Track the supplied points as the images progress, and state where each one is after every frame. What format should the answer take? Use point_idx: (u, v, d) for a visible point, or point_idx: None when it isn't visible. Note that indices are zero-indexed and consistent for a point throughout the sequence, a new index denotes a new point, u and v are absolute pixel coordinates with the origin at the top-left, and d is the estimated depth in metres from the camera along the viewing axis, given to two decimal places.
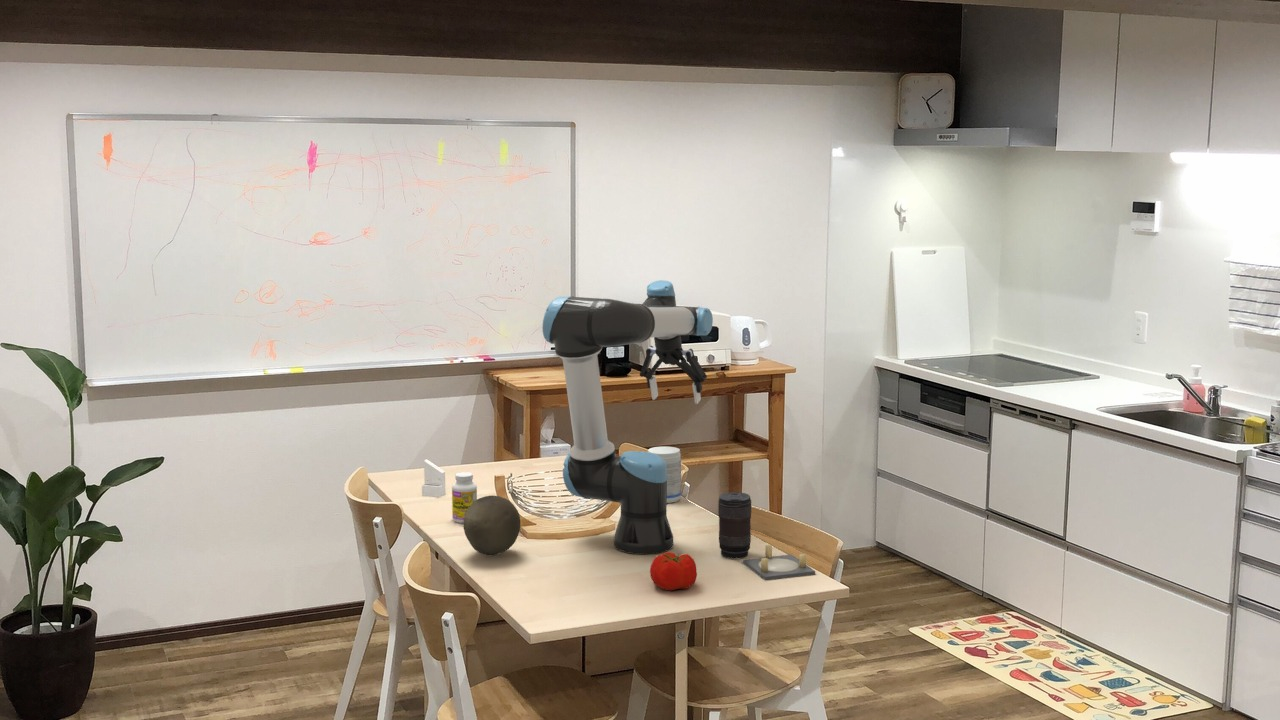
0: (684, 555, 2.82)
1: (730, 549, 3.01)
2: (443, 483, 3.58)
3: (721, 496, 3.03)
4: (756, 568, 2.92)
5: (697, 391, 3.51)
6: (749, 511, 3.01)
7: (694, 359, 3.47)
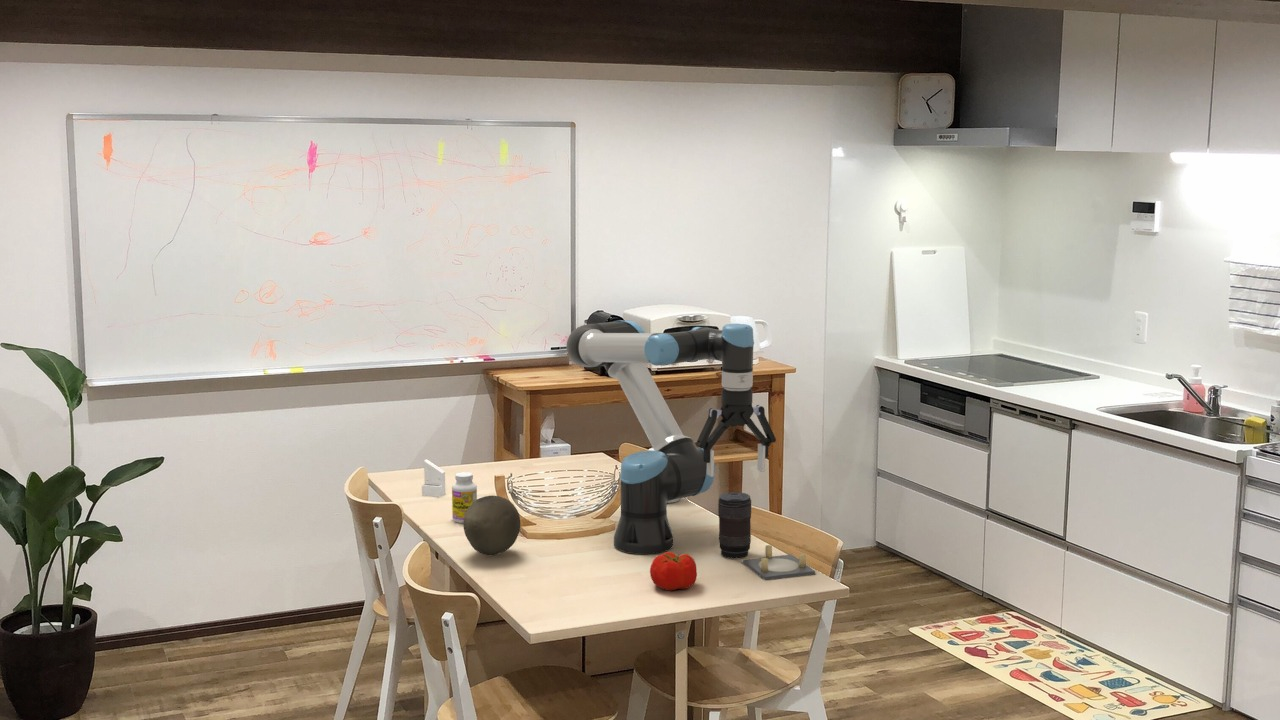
0: (684, 555, 2.82)
1: (730, 549, 3.01)
2: (443, 483, 3.58)
3: (721, 496, 3.03)
4: (756, 568, 2.92)
5: None
6: (749, 511, 3.01)
7: (709, 421, 2.97)
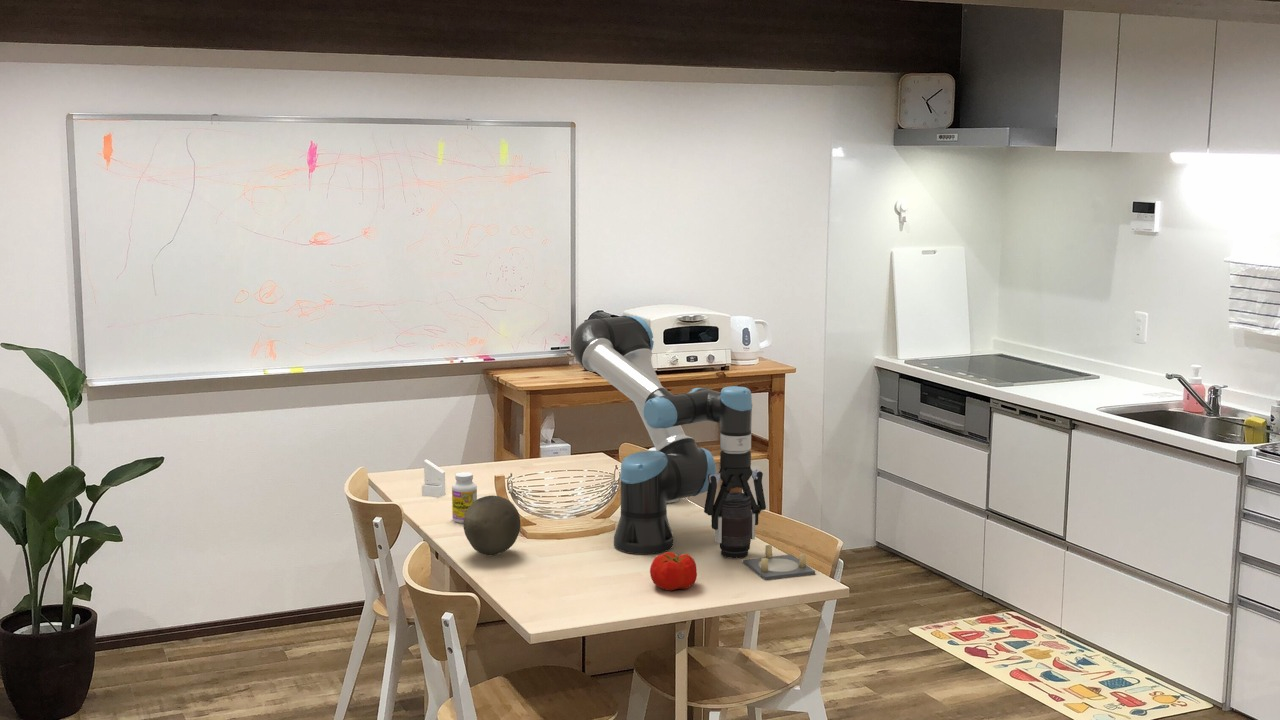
0: (684, 555, 2.82)
1: (730, 549, 3.01)
2: (443, 483, 3.58)
3: None
4: (756, 568, 2.92)
5: None
6: (749, 511, 3.01)
7: (710, 487, 3.00)
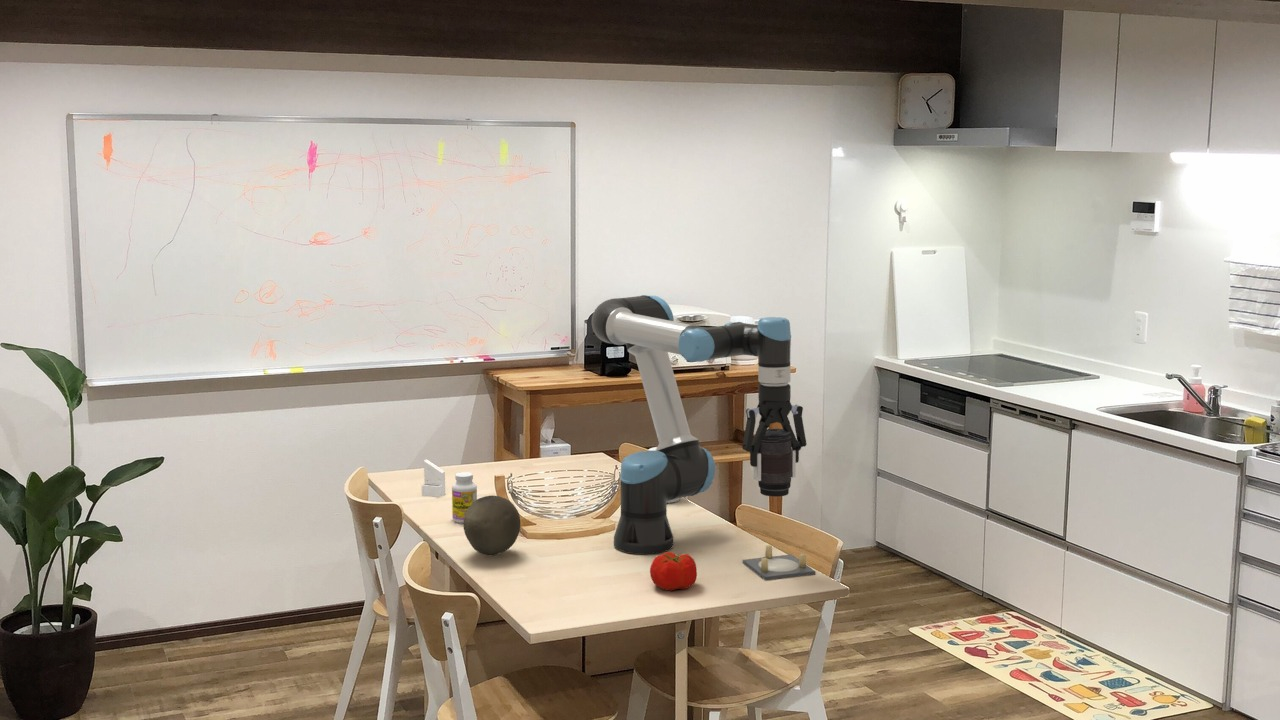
0: (684, 555, 2.82)
1: (771, 487, 2.89)
2: (443, 483, 3.58)
3: None
4: (756, 568, 2.92)
5: None
6: (789, 447, 2.89)
7: (749, 422, 2.88)
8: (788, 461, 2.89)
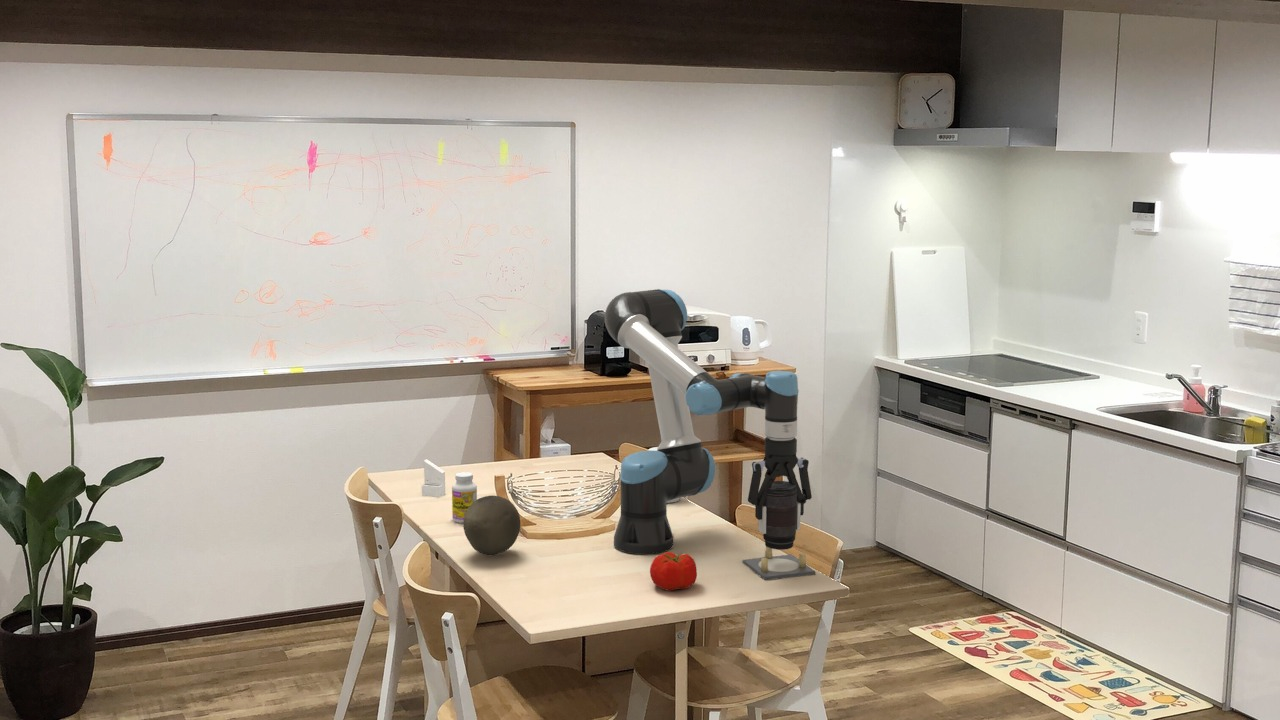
0: (684, 555, 2.82)
1: (775, 540, 2.90)
2: (443, 483, 3.58)
3: None
4: (756, 568, 2.92)
5: None
6: (795, 500, 2.90)
7: (754, 476, 2.88)
8: (793, 514, 2.90)
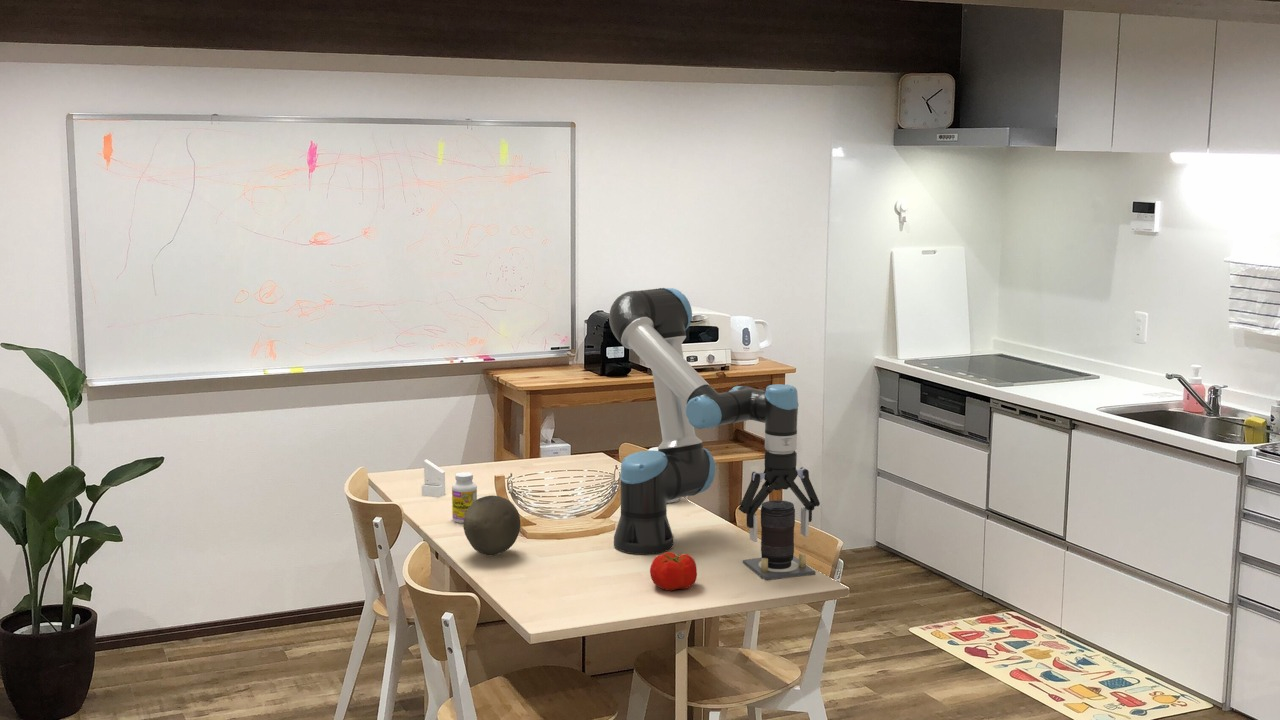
0: (684, 555, 2.82)
1: (773, 559, 2.91)
2: (443, 483, 3.58)
3: (763, 504, 2.92)
4: (756, 568, 2.92)
5: None
6: (793, 520, 2.90)
7: (752, 485, 2.89)
8: (791, 534, 2.91)
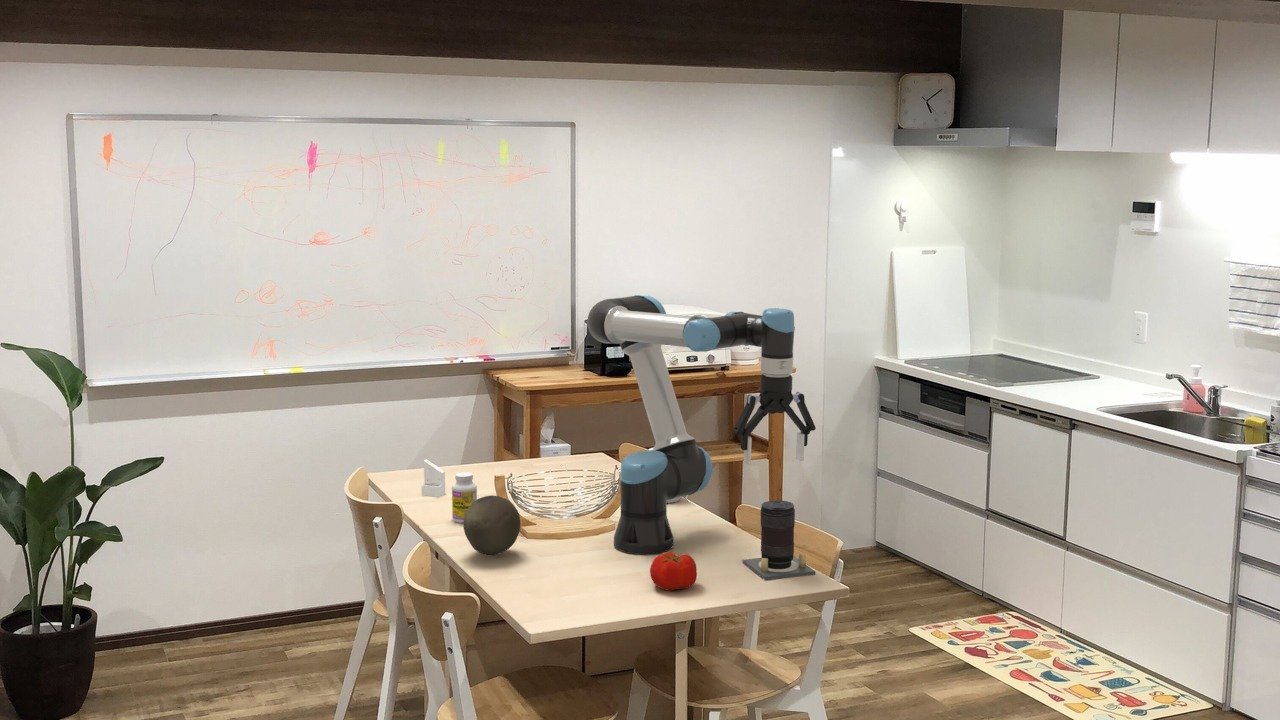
0: (684, 555, 2.82)
1: (773, 559, 2.91)
2: (443, 483, 3.58)
3: (763, 504, 2.92)
4: (756, 568, 2.92)
5: None
6: (793, 520, 2.90)
7: (747, 408, 2.90)
8: (791, 534, 2.91)
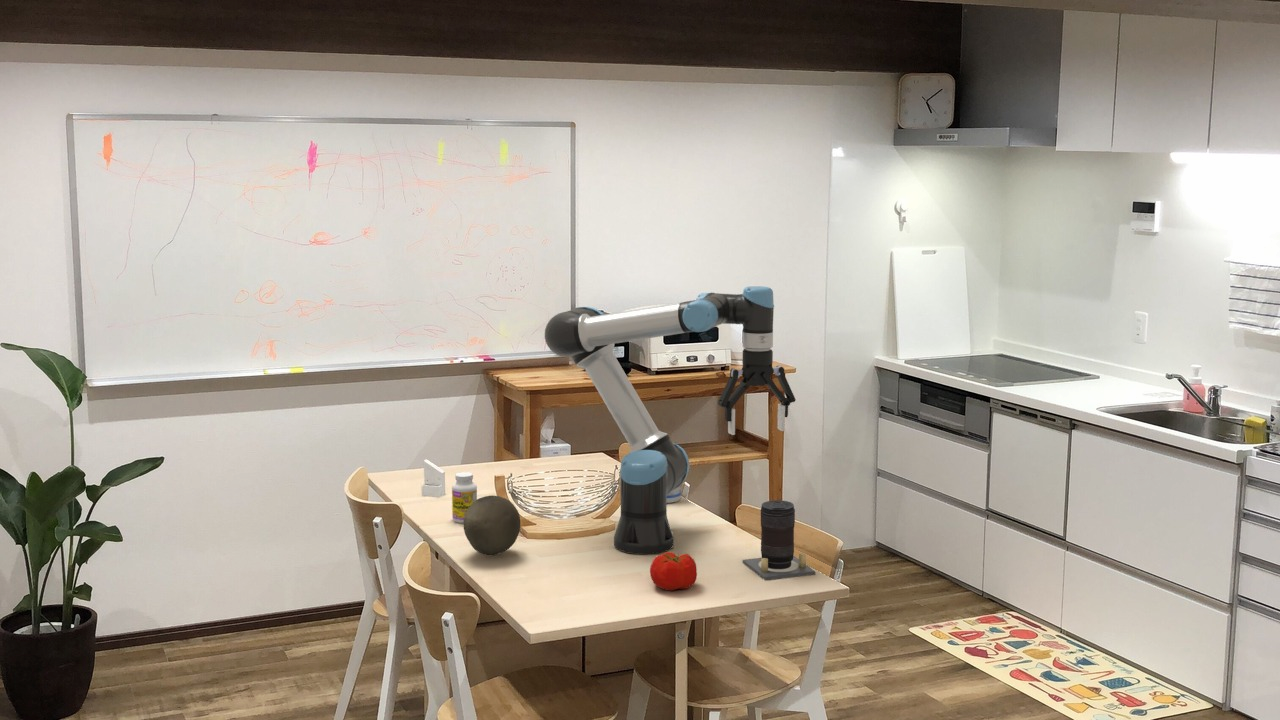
0: (684, 555, 2.82)
1: (773, 559, 2.91)
2: (443, 483, 3.58)
3: (763, 504, 2.92)
4: (756, 568, 2.92)
5: None
6: (793, 520, 2.90)
7: (730, 381, 3.06)
8: (791, 534, 2.91)
